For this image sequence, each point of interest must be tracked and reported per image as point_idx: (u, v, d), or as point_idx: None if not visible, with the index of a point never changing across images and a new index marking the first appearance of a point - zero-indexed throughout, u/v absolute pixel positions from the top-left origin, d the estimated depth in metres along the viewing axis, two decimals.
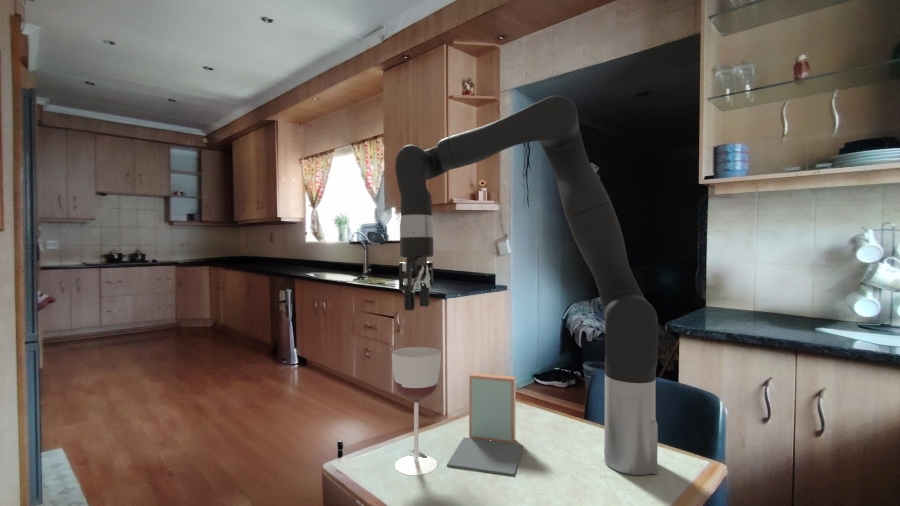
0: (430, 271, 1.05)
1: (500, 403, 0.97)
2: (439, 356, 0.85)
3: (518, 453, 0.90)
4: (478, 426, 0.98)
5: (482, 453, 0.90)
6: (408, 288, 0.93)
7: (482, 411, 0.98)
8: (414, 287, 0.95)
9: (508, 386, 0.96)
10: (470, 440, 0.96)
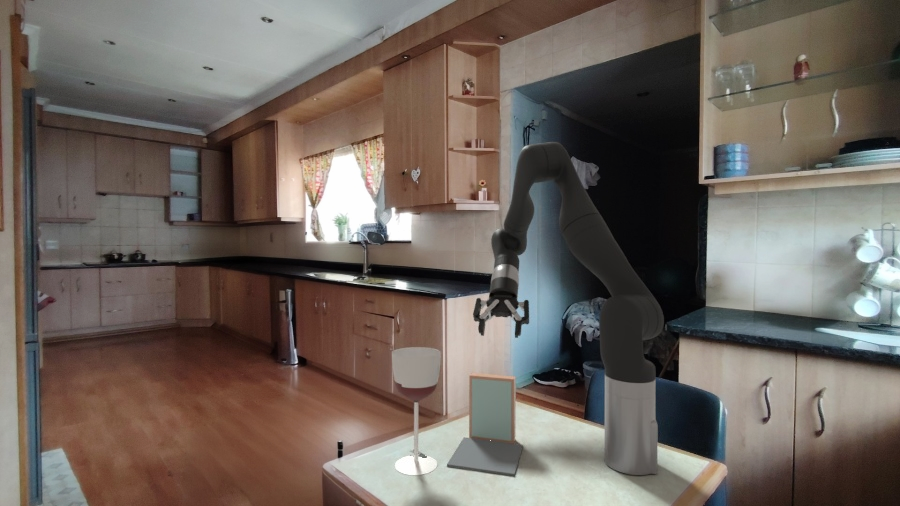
0: (524, 307, 1.13)
1: (500, 403, 0.97)
2: (439, 356, 0.85)
3: (518, 453, 0.90)
4: (478, 426, 0.98)
5: (482, 453, 0.90)
6: (473, 315, 1.14)
7: (482, 411, 0.98)
8: (483, 315, 1.13)
9: (508, 386, 0.96)
10: (470, 440, 0.96)
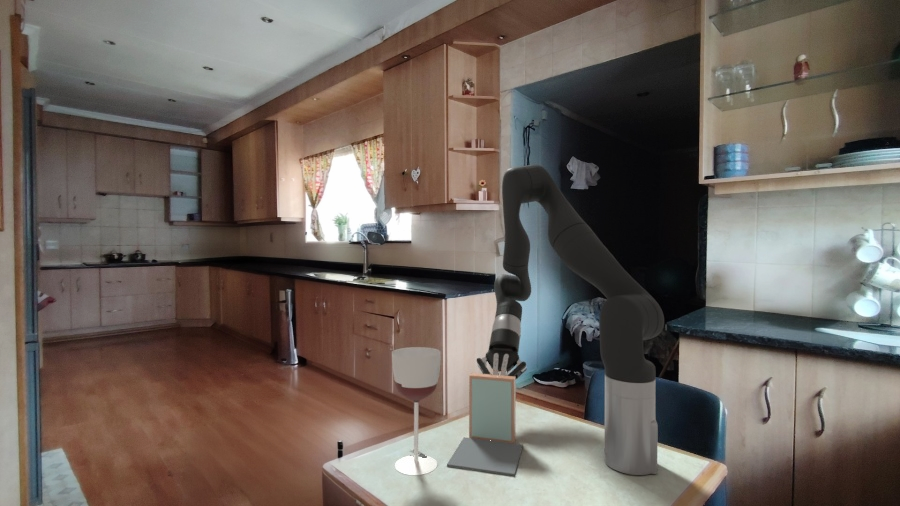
0: (517, 367, 1.08)
1: (500, 403, 0.97)
2: (439, 356, 0.85)
3: (518, 453, 0.90)
4: (478, 426, 0.98)
5: (482, 453, 0.90)
6: None
7: (482, 411, 0.98)
8: None
9: (508, 386, 0.96)
10: (470, 440, 0.96)
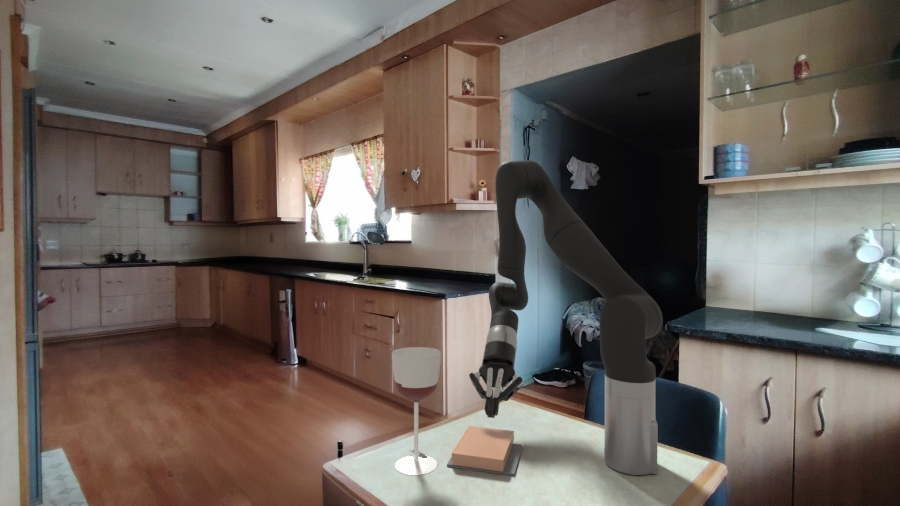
0: (512, 383, 1.00)
1: None
2: (439, 356, 0.85)
3: (518, 453, 0.90)
4: None
5: None
6: (479, 392, 1.00)
7: None
8: (490, 392, 0.99)
9: None
10: None
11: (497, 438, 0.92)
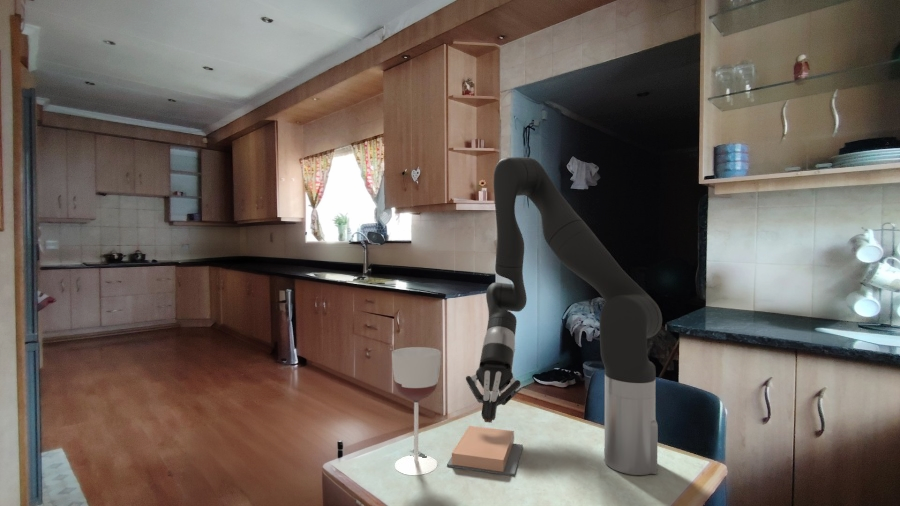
0: (510, 386, 0.97)
1: None
2: (439, 356, 0.85)
3: (518, 453, 0.90)
4: None
5: None
6: (476, 395, 0.97)
7: None
8: (487, 396, 0.96)
9: None
10: None
11: (497, 438, 0.92)
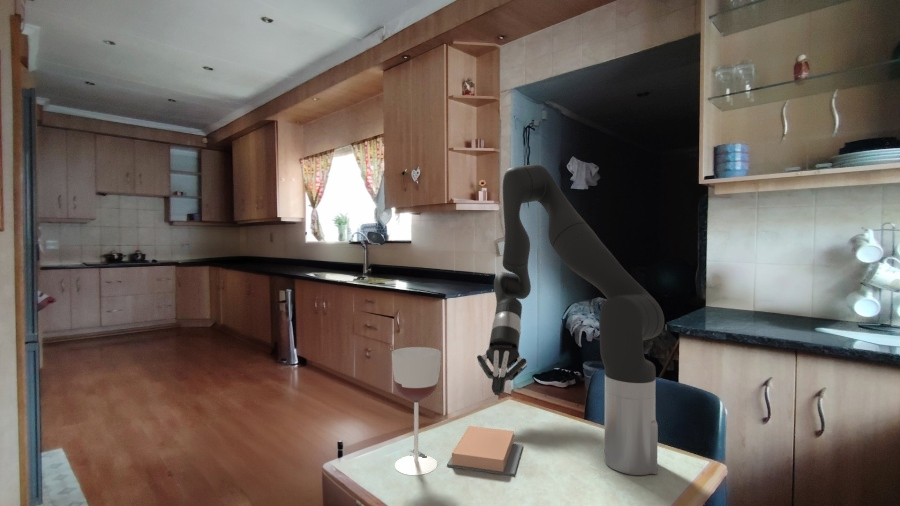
0: (517, 364, 1.08)
1: None
2: (439, 356, 0.85)
3: (518, 453, 0.90)
4: None
5: None
6: (486, 372, 1.08)
7: None
8: (497, 372, 1.07)
9: None
10: None
11: (497, 438, 0.92)
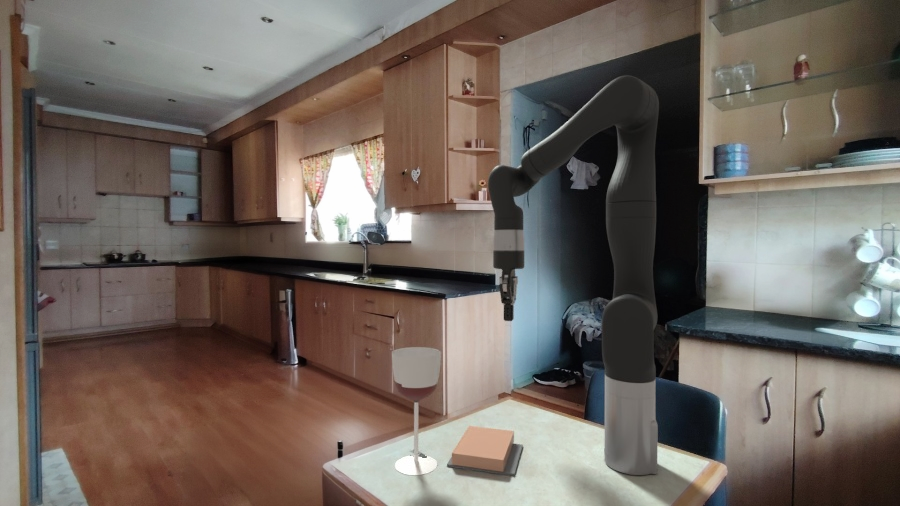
0: None
1: None
2: (439, 356, 0.85)
3: (518, 453, 0.90)
4: None
5: None
6: (510, 302, 1.04)
7: None
8: (513, 300, 1.07)
9: None
10: None
11: (497, 438, 0.92)
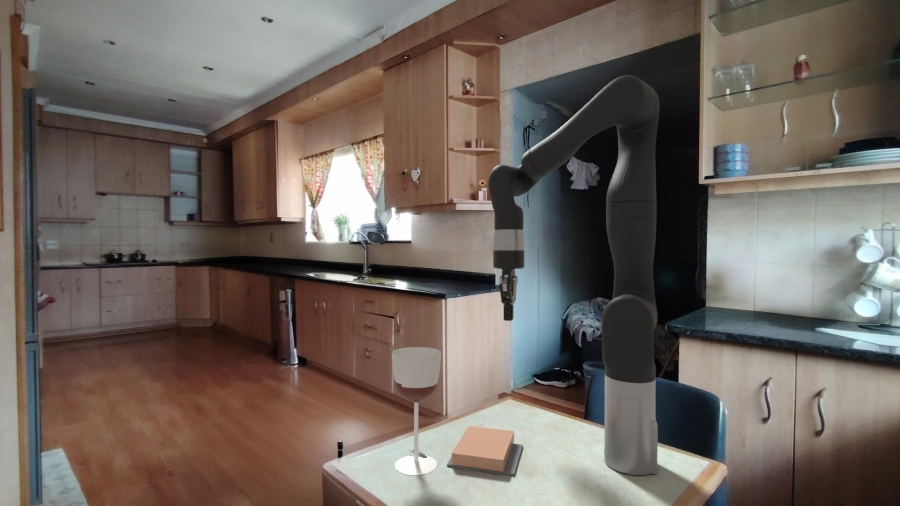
0: None
1: None
2: (439, 356, 0.85)
3: (518, 453, 0.90)
4: None
5: None
6: (510, 301, 1.04)
7: None
8: (513, 300, 1.07)
9: None
10: None
11: (497, 438, 0.92)
